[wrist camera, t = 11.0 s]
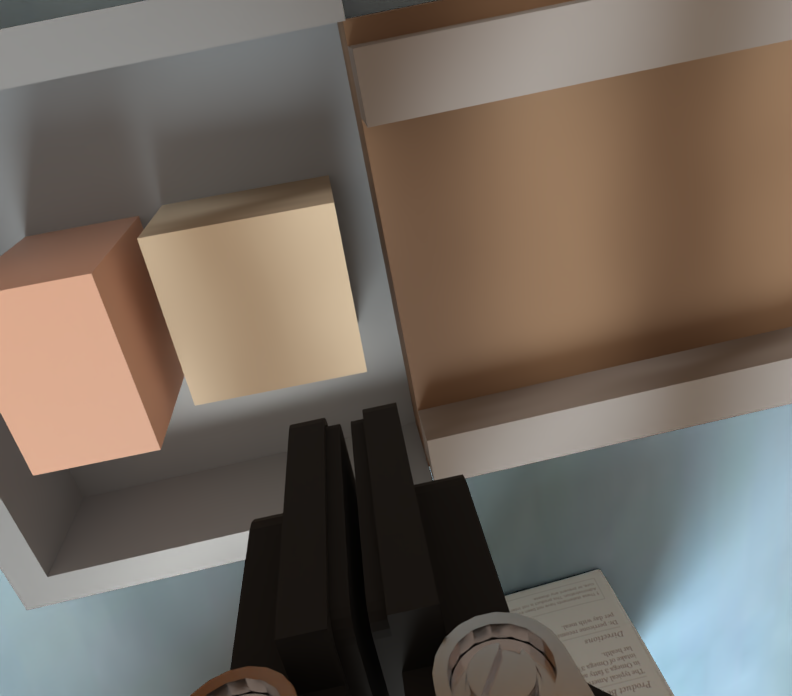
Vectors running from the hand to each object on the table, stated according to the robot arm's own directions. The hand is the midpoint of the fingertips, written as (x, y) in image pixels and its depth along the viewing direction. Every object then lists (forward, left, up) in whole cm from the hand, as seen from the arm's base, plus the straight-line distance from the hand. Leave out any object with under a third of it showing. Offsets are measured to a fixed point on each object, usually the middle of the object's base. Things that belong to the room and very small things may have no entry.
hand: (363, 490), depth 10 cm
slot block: (-10, 0, -10) cm, 14 cm away
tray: (+4, 0, -10) cm, 11 cm away
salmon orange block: (+5, -1, -7) cm, 9 cm away
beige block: (+2, -1, -10) cm, 10 cm away
